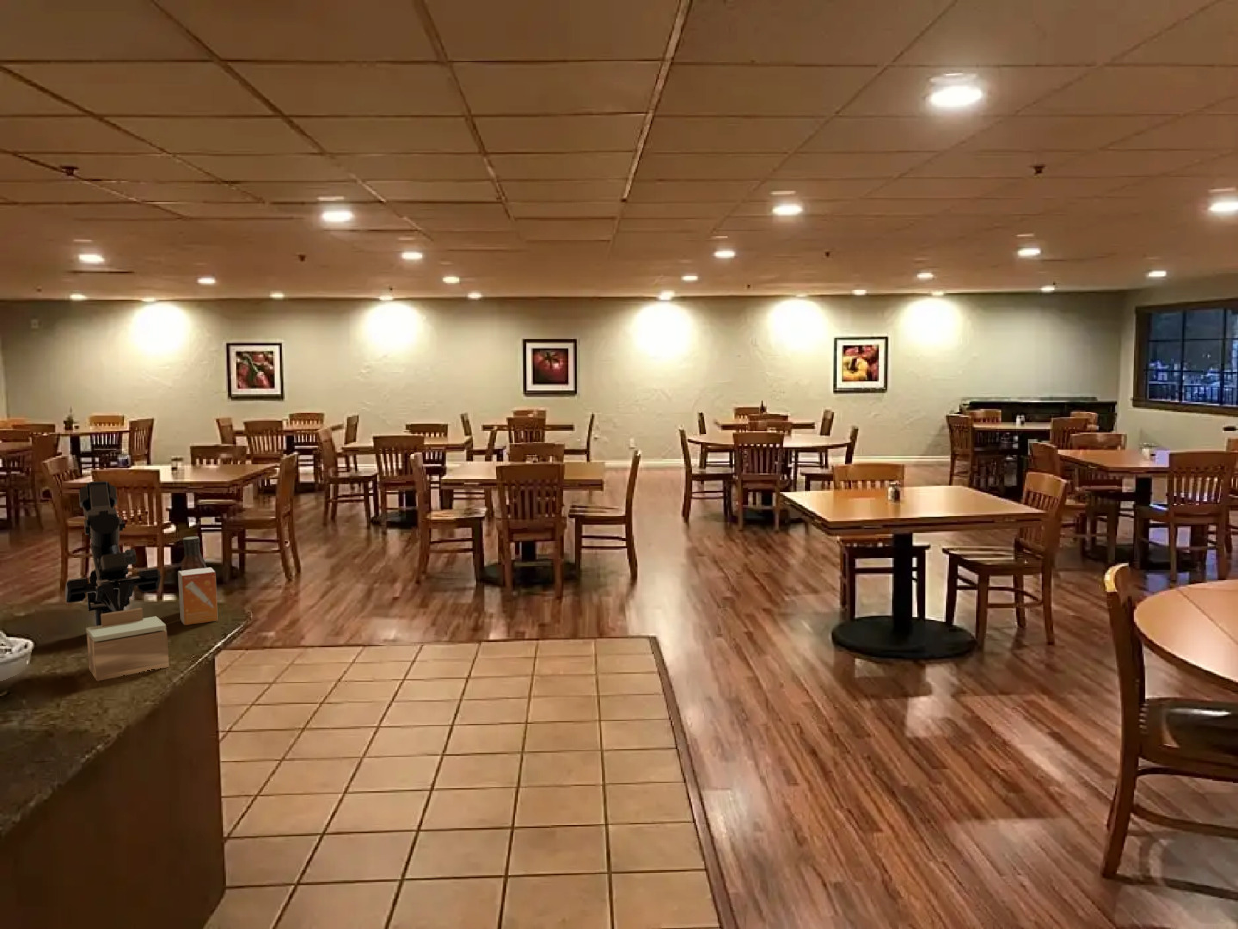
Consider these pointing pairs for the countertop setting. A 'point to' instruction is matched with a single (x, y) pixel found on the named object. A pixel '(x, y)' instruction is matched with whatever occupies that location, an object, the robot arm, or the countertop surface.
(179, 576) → the small box
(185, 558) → the sauce bottle
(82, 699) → the countertop surface
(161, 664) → the box
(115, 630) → the lid
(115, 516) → the robot arm
